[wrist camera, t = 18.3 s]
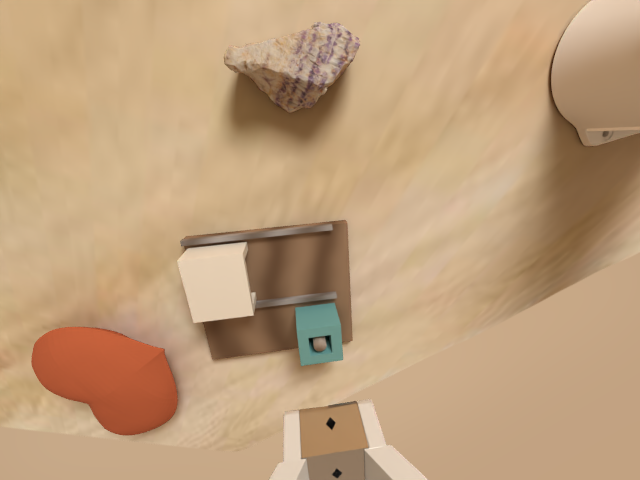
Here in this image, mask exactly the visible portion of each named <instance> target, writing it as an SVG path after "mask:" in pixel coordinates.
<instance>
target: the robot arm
mask: <svg viewBox="0 0 640 480" xmlns="http://www.w3.org/2000/svg"><path fill="white" fill-rule="evenodd" d="M551 87H552V94H553V98H554V101H555V104H556V106H557V108H558V110H559V111H560V113H561V114H562V115H563V117H564V118H565V119H567V120H568V121H569V122H570V123H572V124H573V125H574V126H575V127H576V129H577V132H578V134H579V137H580V139H581V141H582V143H583V144H584V145H585V146H597V145H601V144H604V143H608V142H611V141H614V140H618V139H621V138H624V137H628V136H631V135H634V134H638V133H640V0H591V1H590V2H589V3H588V4H587V5H585V6H584V7H583V8H582V9H581V10H580V12H579V13H578V14H577V15H576V16H575V17H574V19H573V20H572V21H571V23H570V24H569V26H568V27H567V29H566V31H565V32H564V34H563V36H562V38H561V40H560V42H559V45H558V47H557V50H556V53H555V57H554V61H553V65H552V73H551ZM602 134H603V135H602ZM269 480H428V479H427V478H426V477H424V476H423V474H421V473H420V472H419V471H418V470H417V469H416V468H415V467H414V466H413V465H412V464H411V463H410V462H409V461H408V460H406V458H404V457H403V456H402V455H401V454H400V453H399V452H398V451H397V450H396V449H395V448H394V447H393V446H391V445H386V442H385V439H384V436H383V433H382V430H381V426H380V424H379V421H378V418H377V414H376V411H375V408H374V405H373V402H372V400H371V399H369V400H362V401H357V402H356V401H353V402H347V403H341V404H335V405H329V406H325V407H317V408H308V409H300V410H293V411H285V412H284V423H283V462H281V463H278V464H277V466H276V468H275V470H274V472H273V473H272V475H271V477H270V478H269Z"/></svg>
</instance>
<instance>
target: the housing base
mask: <svg viewBox="0 0 640 480" xmlns="http://www.w3.org/2000/svg"><path fill="white" fill-rule="evenodd" d="M241 242H247V246H248V251H247V255H246V258H245V262H246V267H247V273H248V279H249V284H250V290H251V293H252V292H256V298H257V299H256V305H255V311H254V316H246V317H238V318H230V319H222V320H214V321H206V322H203V323H204V327H205V331H206V335H207V339H208V343H209V347H210V351H211V355H212V359H220V358H228V357H235V356H243V355H250V354H257V353H265V352H272V351H280V350H287V349H294V348H299V346H298V338H297V328H296V311H295V308H296V307H304V306H312V305H320V304H328V303H335V306H336V309H337V313H338V316H339V320H340V323H341V334H342V342H346V341H352V318H351V295H350V273H349V250H348V227H347V222H346V220H341V221H332V222H322V223H312V224H303V225H293V226H283V227H274V228H264V229H254V230H245V231H235V232H226V233H216V234H206V235H197V236H187V237H185V238H184V239H182V240H181V241H180V243H181V246H184V247H185V251H186V250H187V249H188V248H194V247H203V246H213V245H222V244H231V243H241ZM313 345H314V349H315V350H316V351H323V350H325V349H326V347H327V345H326V339H325V336H319V337H313Z"/></svg>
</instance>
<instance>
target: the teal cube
mask: <svg viewBox="0 0 640 480" xmlns="http://www.w3.org/2000/svg"><path fill="white" fill-rule="evenodd" d="M295 311H296V328H297V338H298V346H299V354H300V362H301V366H304V365H311V364H318V363H325V362H332V361H339V360H343V350H342V334H341V323H340V320H339V316H338V313H337V309H336V306H335V303H328V304H320V305H312V306H304V307H296V308H295ZM319 336H325V339H326V345H327V347H326V349H325V350H323V351H316V350H315V349H314V345H313V337H319Z"/></svg>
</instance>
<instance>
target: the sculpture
mask: <svg viewBox="0 0 640 480" xmlns="http://www.w3.org/2000/svg"><path fill="white" fill-rule="evenodd" d="M31 362H32V367H33V370H34V372H35V374H36V376H37V378H38V380H39V381H40V382H41V384H42V385H43V386H44V387H45V388H46V389H48V390H49V391H51V392H52V393H54V394H56V395H59V396H61V397H64V398H66V399H69V400H74V401H79V402H83V403H87V404H89V406H90V408H91V410H92V412H93V414H94V416H95V417H96V418H97V420H98V421H99V422H100V424H101V425H102V426H103V427H104V428H105V429H106V430H108V431H110V432H113V433H115V434H119V435H135V434H140V433H144V432H147V431H149V430H152V429H155V428H157V427H159V426H161V425H162V424H164V423H166V422H167V421H168V420H169V419H170V418H171V417H172V416H173V415H174V413H175V410H176V407H177V390H176V385H175V382H174V379H173V376H172V373H171V370H170V368H169V365H168V363H167V360H166V357H165V354H164V349H162V348H157V347H153V346H150V345H147V344H144V343H141V342H138V341H136V340H133V339H130V338H128V337H127V336H125V335H123V334H120V333H118V332H114V331H111V330H106V329H99V328H90V327H65V328H59V329H55V330H52V331H50V332H48V333H46V334H44V335H43V336H42V337H40V338H39V339H38V340H37V342H36V343H35V345H34V348H33V353H32V361H31Z"/></svg>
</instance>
